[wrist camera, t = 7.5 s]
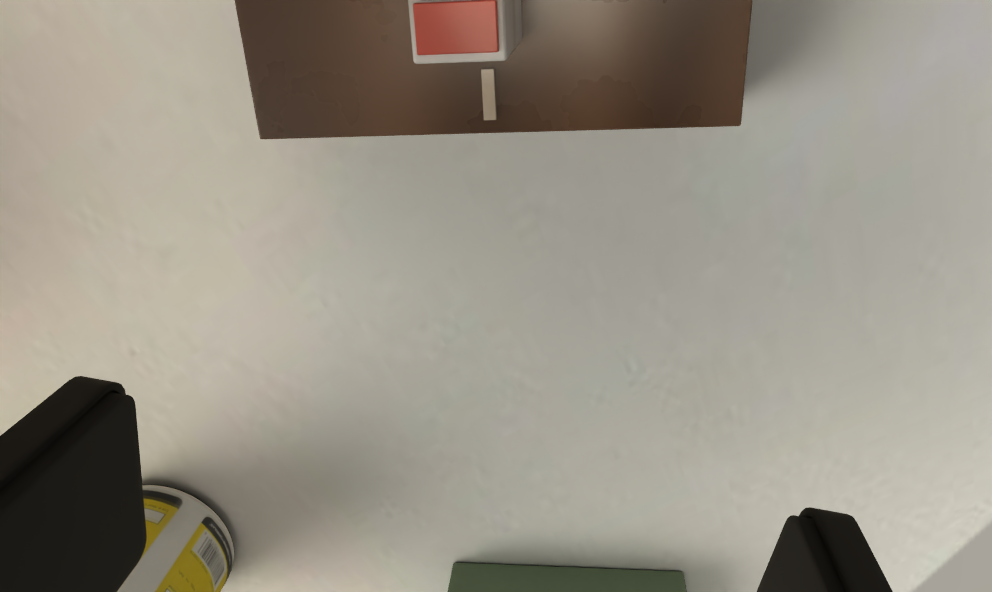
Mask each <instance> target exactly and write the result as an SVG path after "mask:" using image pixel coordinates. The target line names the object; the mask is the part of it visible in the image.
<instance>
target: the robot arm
mask: <svg viewBox="0 0 992 592" xmlns="http://www.w3.org/2000/svg"><path fill="white" fill-rule="evenodd" d="M146 540H147V533H146V522H145V511H144V499H143V488H142V476H141V465H140V454H139V442H138V431H137V419H136V408H135V402H134V399H133V398H132V397H131V396H129V395H126V393H125V389H124V388H123V386H122V385H121V384H119V383H116V382H110V381H105V380H99V379H94V378H88V377H83V376H79V377H74V378H73V379H71V380H69V381H68V382H67V383H65V384H64V385H63V386H62V387H60V388H59V389H58V390H57V391H56V392H54V393H53V394H52V395H51V396H49V397H48V398H47V399H46V400H44V401H43V402H42V403H41V404H39V405H38V406H37V407H36V408H34V409H33V410H32V411H31V412H30V413H28V414H27V415H26V416H25V417H23V418H22V419H21V420H20V421H18V422H17V423H16V424H15V425H13V426H12V427H11V428H10V429H8V430H7V431H6V432H5V433H4V434H2V435H1V436H0V592H117V591H118V590H119V588H120V587H121V586H122V584H123V583H124V581H125V580H126V579H127V577H128V576H129V575H130V573H131V572H132V571H133V569H134V568H135V567H136V565H137V564H138V562H139V561H140V559H141V557H142V554H143V552H144V549H145V546H146ZM757 592H892V590H891V588H890V586H889V584H888V582H887V580H886V578H885V576H884V574H883V572H882V570H881V568H880V566H879V564H878V562H877V561H876V559H875V557H874V555H873V553H872V551H871V549H870V547H869V545H868V543H867V541H866V539H865V537H864V535H863V533H862V532H861V530H860V528H859V526H858V524H857V522H856V521H855V519H854V518H853V517H852V516H850V515H848V514H843V513H837V512H832V511H826V510H821V509H815V508H805V509H804V510H803V511H802V512H801V514H800V515H799V516H794V515H793V516H790V517H789V518H788V519H787V521H786V522H785V525H784V527H783V530H782V532H781V534H780V537H779V539H778V542H777V544H776V546H775V549H774V551H773V554H772V556H771V558H770V561H769V563H768V566H767V568H766V570H765V573H764V575H763V578H762V580H761V582H760V585H759V587H758V590H757Z"/></svg>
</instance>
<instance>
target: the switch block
mask: <svg viewBox="0 0 992 592" xmlns="http://www.w3.org/2000/svg"><path fill="white" fill-rule="evenodd" d="M448 592H687V591H686V585H685V580H684V574H683V572H678V571H653V570H627V569H602V568H577V567H552V566H527V565H502V564H476V563H454V564H453V568H452V573H451V578H450V583H449V588H448Z"/></svg>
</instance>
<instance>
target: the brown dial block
mask: <svg viewBox="0 0 992 592" xmlns="http://www.w3.org/2000/svg"><path fill="white" fill-rule="evenodd" d="M235 4H236V10H237V15H238V21H239V26H240V32H241V37H242V43H243V48H244V53H245V59H246V64H247V70H248V75H249V81H250V86H251V92H252V97H253V102H254V108H255V113H256V119H257V124H258V130H259V135H260V139H287V138H323V137H359V136H395V135H431V134H468V133H504V132H540V131H576V130H612V129H648V128H685V127H721V126H740V125H741V118H742V107H743V96H744V85H745V75H746V64H747V53H748V43H749V32H750V21H751V10H752V0H521V5H522V40H521V41H520V43H519V44H518V45H517V47H516V48H515V49H514V50H513V52H512V53H511V54H510V56H509V57H508V58H507V59H506V60H505V61H485V62H457V63H429V64H416V63H414V61H413V51H412V40H411V28H410V17H409V6H408V0H235Z"/></svg>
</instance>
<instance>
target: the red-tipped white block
mask: <svg viewBox="0 0 992 592" xmlns="http://www.w3.org/2000/svg"><path fill="white" fill-rule="evenodd" d="M408 6H409V17H410V28H411V40H412V51H413V61H414V63H416V64H429V63H457V62H485V61H505V60H506V59H507V58H508V57H509V56H510V54H511V53H512V52H513V50H514V49H515V48H516V47H517V45H518V44H519V43H520V41H521V40H522V5H521V0H408Z"/></svg>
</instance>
